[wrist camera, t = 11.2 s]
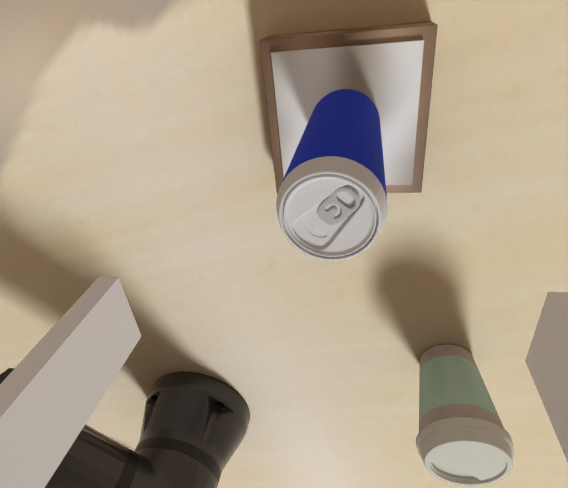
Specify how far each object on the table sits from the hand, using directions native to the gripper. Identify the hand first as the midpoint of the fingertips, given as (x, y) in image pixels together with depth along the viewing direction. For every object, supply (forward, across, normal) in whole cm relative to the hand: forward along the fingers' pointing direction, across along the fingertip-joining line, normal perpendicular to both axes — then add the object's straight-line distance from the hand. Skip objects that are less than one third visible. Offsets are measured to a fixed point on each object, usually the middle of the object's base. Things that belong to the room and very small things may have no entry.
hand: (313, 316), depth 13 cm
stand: (+24, 0, 0) cm, 25 cm away
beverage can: (+21, 0, 0) cm, 21 cm away
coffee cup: (+25, +11, -29) cm, 40 cm away
